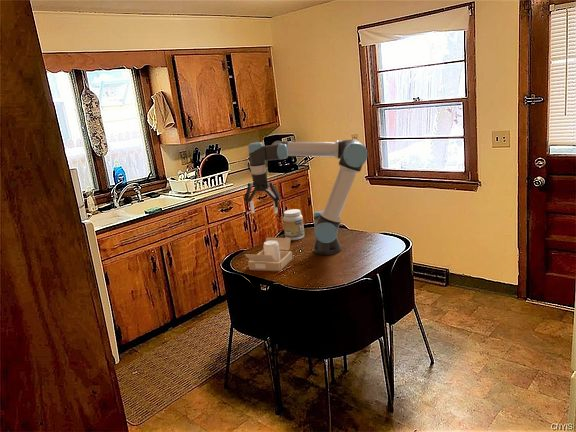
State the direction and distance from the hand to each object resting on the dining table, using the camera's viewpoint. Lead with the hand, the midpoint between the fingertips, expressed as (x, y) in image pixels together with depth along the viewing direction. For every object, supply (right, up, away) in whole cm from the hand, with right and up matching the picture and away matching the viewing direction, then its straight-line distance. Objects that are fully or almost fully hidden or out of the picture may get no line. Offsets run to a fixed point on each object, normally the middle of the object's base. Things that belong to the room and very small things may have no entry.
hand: (264, 213), depth 242 cm
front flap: (-2, -23, -4) cm, 23 cm away
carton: (+3, -27, +8) cm, 29 cm away
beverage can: (+5, -27, +7) cm, 28 cm away
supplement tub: (+17, -15, +47) cm, 52 cm away
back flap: (+6, -17, +15) cm, 23 cm away
